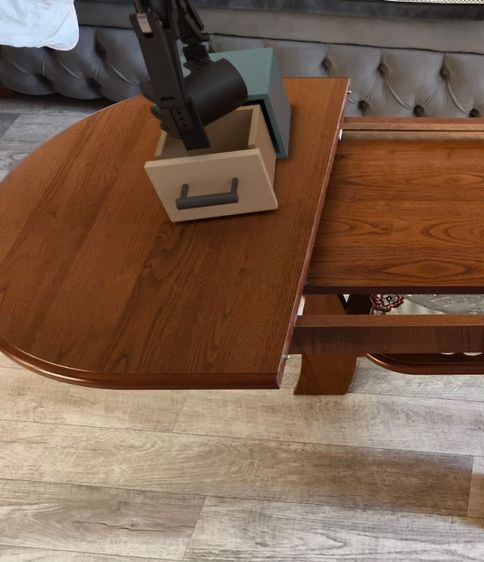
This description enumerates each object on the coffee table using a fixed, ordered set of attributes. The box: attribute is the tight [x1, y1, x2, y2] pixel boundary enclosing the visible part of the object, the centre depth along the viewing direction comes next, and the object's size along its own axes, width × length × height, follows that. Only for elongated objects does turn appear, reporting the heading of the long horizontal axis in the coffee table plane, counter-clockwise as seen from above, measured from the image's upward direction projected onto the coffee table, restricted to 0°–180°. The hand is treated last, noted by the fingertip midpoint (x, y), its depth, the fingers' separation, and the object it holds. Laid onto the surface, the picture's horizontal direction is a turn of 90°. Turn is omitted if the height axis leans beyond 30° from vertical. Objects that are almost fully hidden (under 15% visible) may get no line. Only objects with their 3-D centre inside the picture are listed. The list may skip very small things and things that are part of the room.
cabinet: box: [153, 46, 292, 160], centre depth 97 cm, size 13×15×11 cm
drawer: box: [143, 105, 279, 223], centre depth 87 cm, size 16×13×9 cm
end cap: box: [140, 55, 248, 140], centre depth 83 cm, size 10×7×7 cm
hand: (205, 119), depth 86 cm, fingers closed on end cap, 11 cm apart
